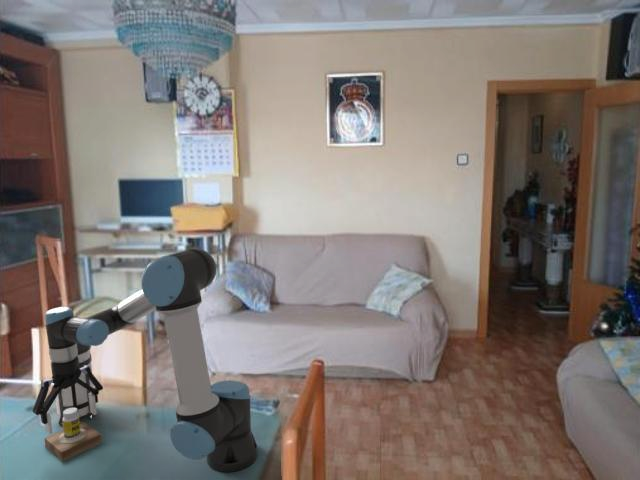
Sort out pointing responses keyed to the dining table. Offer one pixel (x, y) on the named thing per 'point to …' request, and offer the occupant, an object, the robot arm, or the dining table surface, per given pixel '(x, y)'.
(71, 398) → the coffee press
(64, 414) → the supplement bottle
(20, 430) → the dining table surface
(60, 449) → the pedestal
